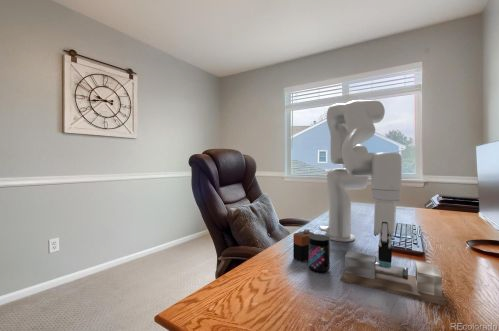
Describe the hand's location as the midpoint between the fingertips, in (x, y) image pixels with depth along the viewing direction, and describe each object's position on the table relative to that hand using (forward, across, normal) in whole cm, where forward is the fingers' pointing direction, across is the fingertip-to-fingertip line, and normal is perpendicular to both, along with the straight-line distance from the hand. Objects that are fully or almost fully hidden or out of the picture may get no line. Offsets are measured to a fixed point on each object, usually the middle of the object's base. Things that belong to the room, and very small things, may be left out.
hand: (385, 258), depth 70 cm
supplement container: (+7, +2, -18) cm, 20 cm away
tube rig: (+7, 0, +1) cm, 7 cm away
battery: (+7, -4, -26) cm, 27 cm away
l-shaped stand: (+5, 0, -2) cm, 5 cm away
